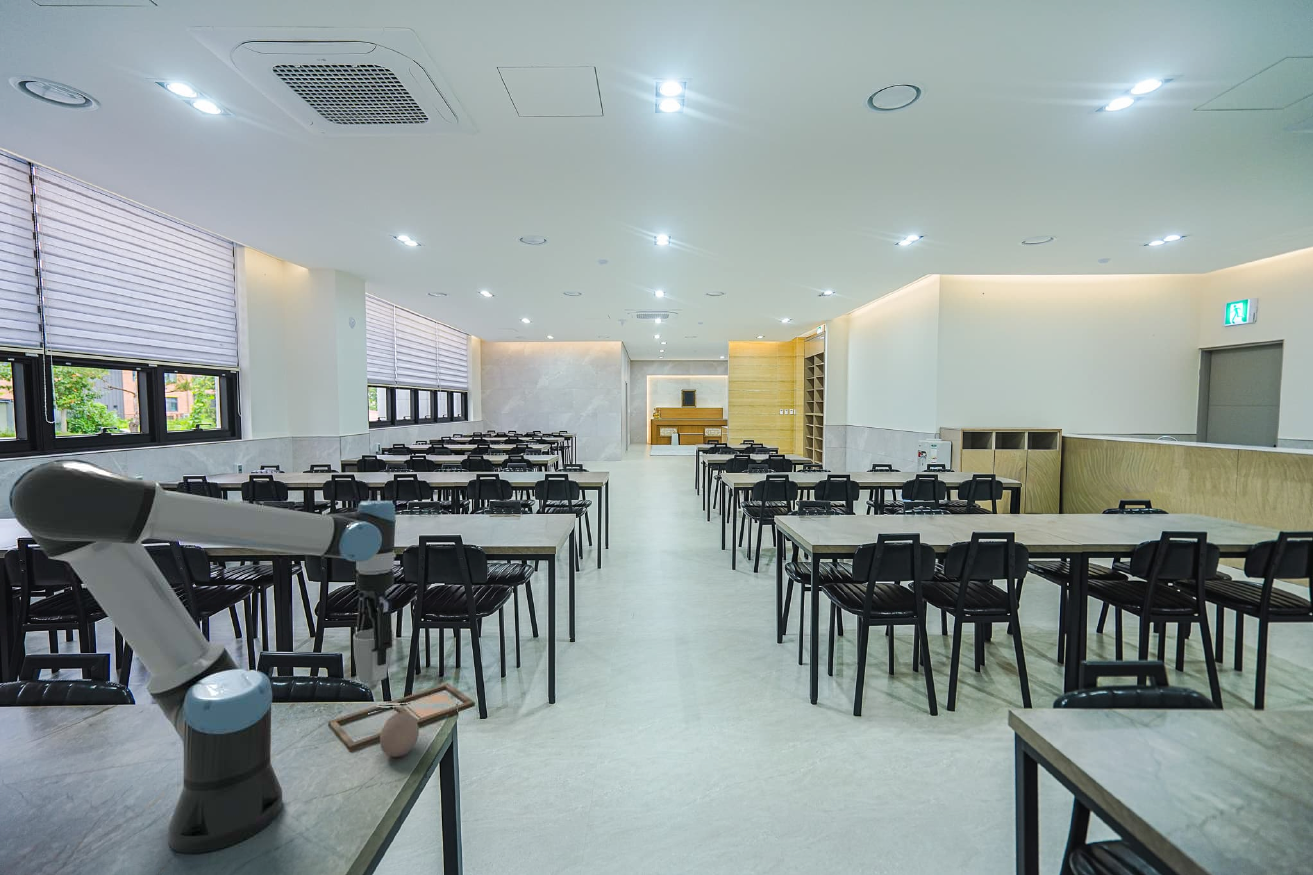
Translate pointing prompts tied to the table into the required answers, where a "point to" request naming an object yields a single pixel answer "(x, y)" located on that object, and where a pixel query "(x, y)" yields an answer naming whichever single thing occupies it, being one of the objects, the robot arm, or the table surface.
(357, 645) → the cup
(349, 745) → the brown wooden divided frame
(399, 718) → the egg
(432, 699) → the pad
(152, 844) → the table surface
